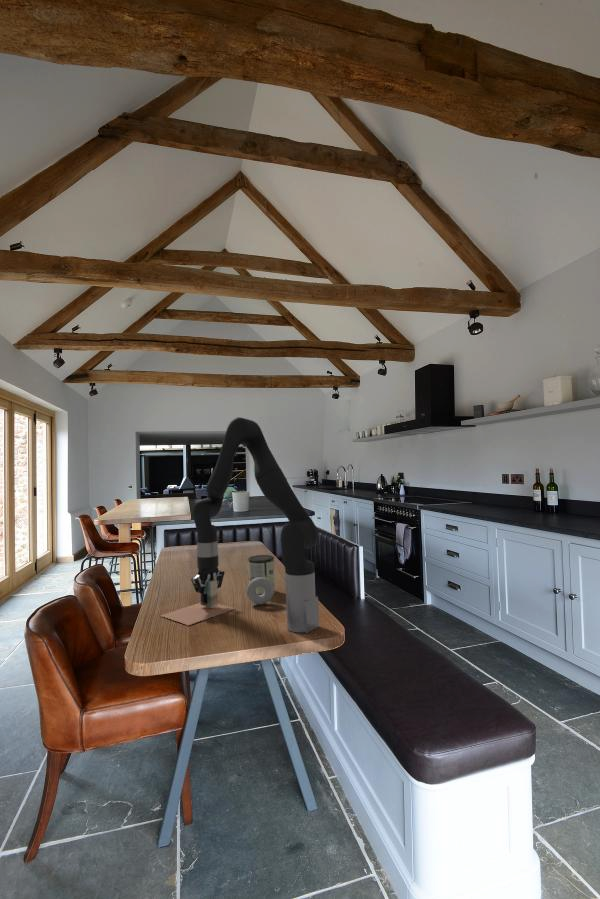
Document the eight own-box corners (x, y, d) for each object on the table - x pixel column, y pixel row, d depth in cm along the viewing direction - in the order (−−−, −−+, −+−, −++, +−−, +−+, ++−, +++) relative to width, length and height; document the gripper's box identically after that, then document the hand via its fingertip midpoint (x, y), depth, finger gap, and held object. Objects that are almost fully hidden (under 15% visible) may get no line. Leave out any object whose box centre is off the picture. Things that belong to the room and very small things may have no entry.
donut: (247, 607, 160) (246, 579, 161) (246, 604, 164) (246, 577, 164) (274, 604, 162) (273, 577, 162) (273, 602, 165) (272, 575, 165)
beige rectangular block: (218, 605, 159) (217, 580, 159) (210, 608, 156) (209, 582, 157) (207, 602, 163) (206, 578, 163) (200, 605, 160) (199, 580, 160)
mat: (234, 609, 158) (234, 608, 158) (188, 626, 143) (188, 625, 143) (206, 601, 168) (206, 600, 168) (160, 616, 153) (160, 615, 153)
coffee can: (252, 589, 183) (251, 554, 184) (277, 589, 182) (276, 554, 182) (246, 596, 173) (245, 560, 174) (272, 596, 172) (271, 560, 172)
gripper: (198, 559, 152) (199, 609, 152) (229, 551, 163) (230, 599, 163) (185, 556, 157) (186, 605, 156) (216, 549, 168) (217, 595, 167)
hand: (209, 602), depth 159 cm, fingers closed on beige rectangular block, 3 cm apart
